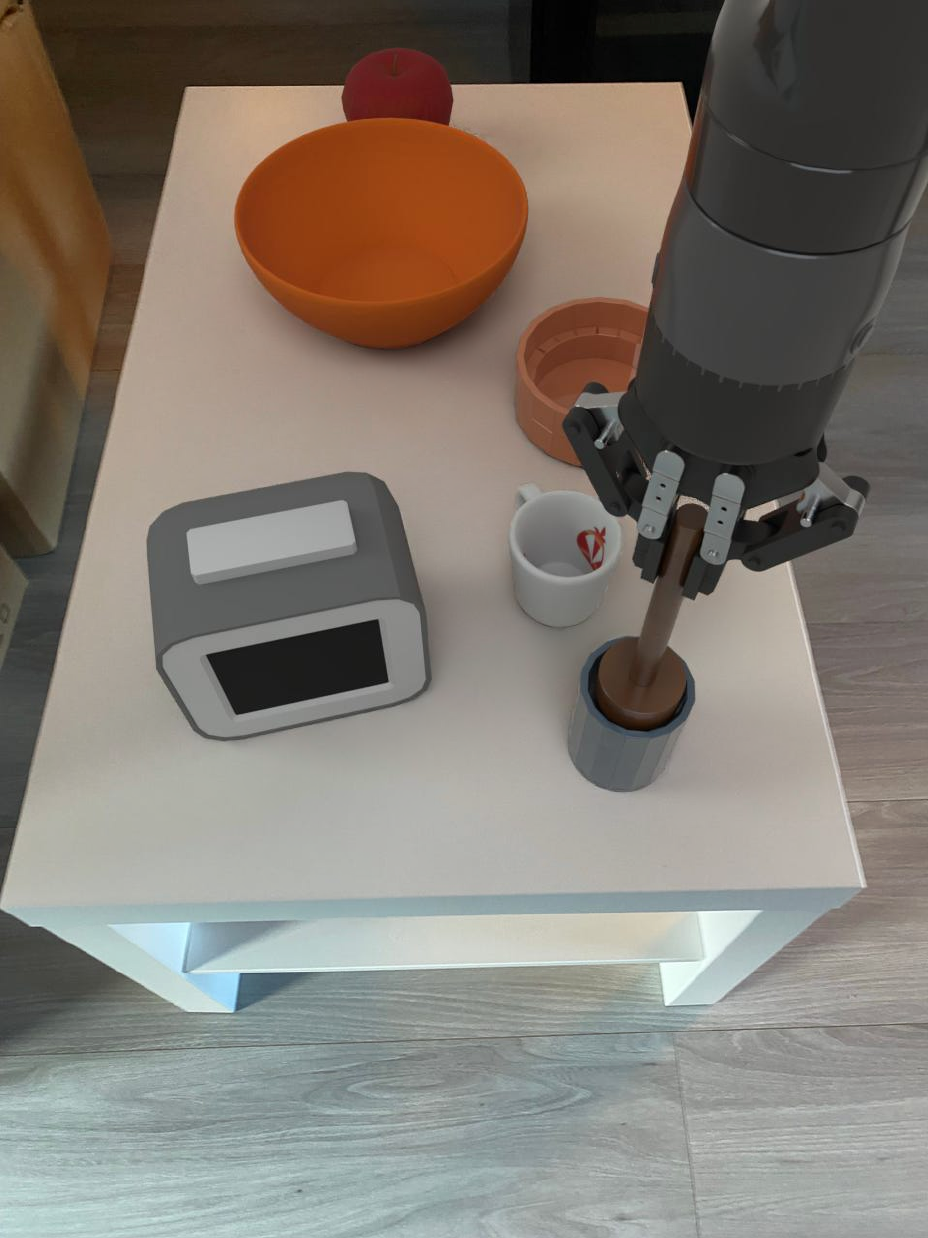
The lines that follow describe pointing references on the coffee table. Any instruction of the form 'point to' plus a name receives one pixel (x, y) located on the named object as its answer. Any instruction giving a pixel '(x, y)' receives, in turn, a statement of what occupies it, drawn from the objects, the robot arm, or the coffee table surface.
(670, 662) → the wooden plunger
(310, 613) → the alarm clock
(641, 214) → the coffee table surface
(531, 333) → the mixing bowl
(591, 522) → the cup
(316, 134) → the bowl
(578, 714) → the utensil crock
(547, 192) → the coffee table surface
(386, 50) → the apple
